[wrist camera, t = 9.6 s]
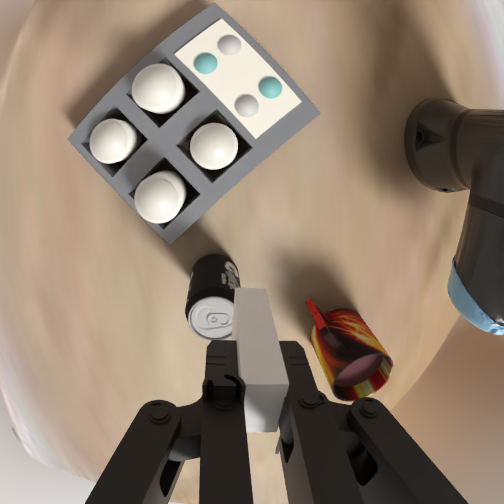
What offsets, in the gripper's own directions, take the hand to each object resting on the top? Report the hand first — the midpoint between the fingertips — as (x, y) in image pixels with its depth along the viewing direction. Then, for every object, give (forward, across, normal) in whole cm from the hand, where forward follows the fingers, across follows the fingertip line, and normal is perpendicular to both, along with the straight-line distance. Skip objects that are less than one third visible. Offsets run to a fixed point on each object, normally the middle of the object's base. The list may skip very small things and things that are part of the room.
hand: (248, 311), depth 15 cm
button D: (+25, -15, +8) cm, 30 cm away
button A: (+26, -3, +8) cm, 27 cm away
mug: (+27, +17, -20) cm, 37 cm away
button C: (+23, -10, +14) cm, 28 cm away
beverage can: (+26, -2, -10) cm, 28 cm away
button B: (+23, -9, +2) cm, 25 cm away
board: (+26, -6, +11) cm, 29 cm away
